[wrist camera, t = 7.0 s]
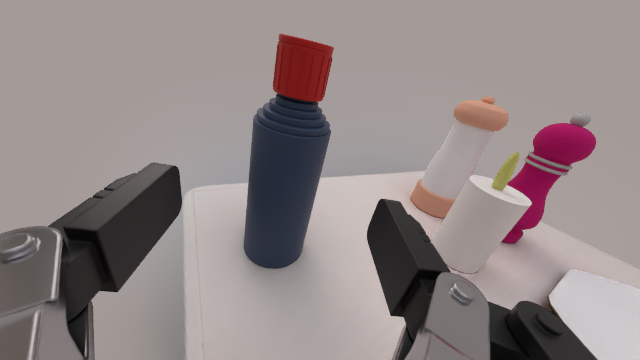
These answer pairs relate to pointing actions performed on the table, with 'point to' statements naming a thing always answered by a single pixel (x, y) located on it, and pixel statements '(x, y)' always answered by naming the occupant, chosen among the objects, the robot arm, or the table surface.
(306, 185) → the bottle
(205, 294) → the table surface
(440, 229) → the candle
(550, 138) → the pepper mill
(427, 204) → the pepper shaker
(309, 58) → the cap
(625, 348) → the plate
